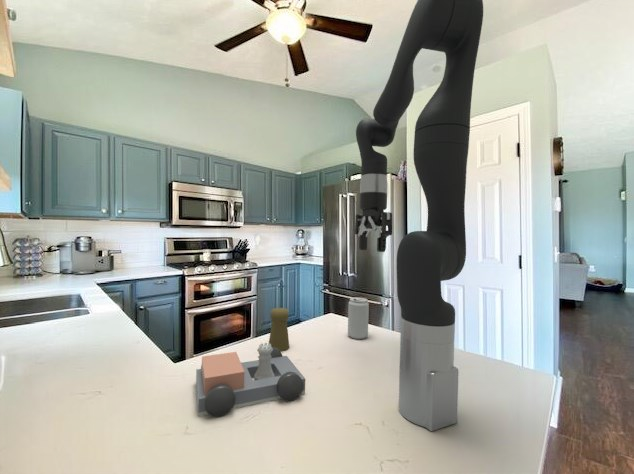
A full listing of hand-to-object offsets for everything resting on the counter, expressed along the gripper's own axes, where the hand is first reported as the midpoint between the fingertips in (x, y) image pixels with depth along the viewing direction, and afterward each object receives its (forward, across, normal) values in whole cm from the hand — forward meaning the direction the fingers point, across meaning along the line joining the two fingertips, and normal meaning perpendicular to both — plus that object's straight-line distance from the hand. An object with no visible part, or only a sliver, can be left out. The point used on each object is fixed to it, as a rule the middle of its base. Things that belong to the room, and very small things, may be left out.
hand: (371, 250), depth 82 cm
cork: (+28, +11, +23) cm, 38 cm away
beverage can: (+28, +11, -3) cm, 30 cm away
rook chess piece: (+28, -8, +32) cm, 43 cm away
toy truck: (+28, -8, +35) cm, 45 cm away
